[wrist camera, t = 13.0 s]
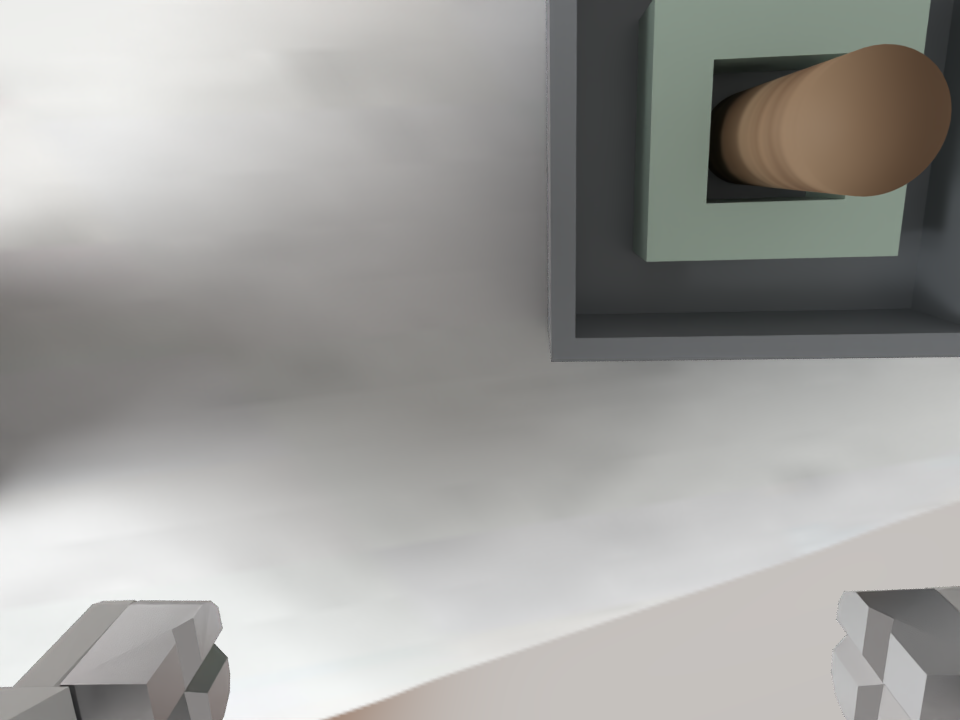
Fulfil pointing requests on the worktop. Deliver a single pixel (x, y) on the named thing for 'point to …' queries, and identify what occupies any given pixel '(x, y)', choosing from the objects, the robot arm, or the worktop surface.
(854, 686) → the robot arm
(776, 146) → the peg
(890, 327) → the bore box
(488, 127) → the worktop surface
